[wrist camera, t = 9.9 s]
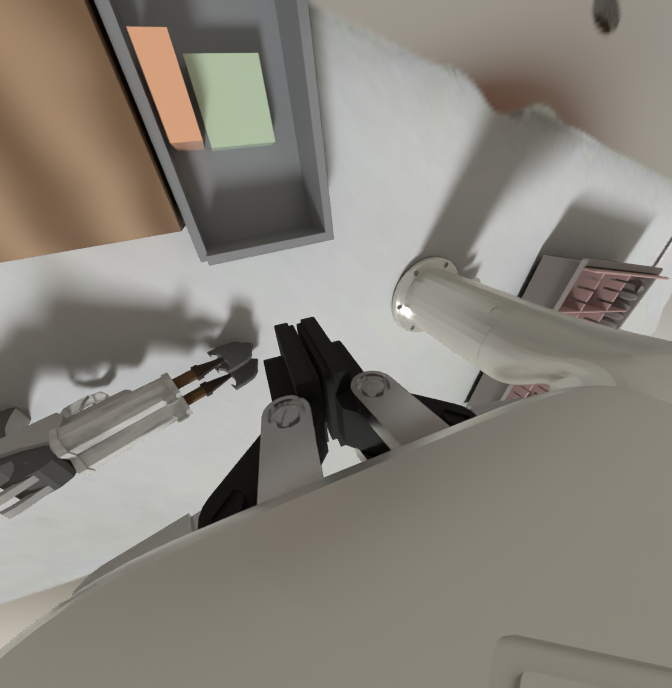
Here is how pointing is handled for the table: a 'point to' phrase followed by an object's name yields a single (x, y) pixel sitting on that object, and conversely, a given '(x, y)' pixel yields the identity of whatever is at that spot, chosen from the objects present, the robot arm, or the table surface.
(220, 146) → the tile
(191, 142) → the tile
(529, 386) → the organizer tray
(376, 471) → the robot arm
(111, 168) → the platform
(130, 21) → the box
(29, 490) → the gun
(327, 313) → the table surface
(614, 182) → the table surface
